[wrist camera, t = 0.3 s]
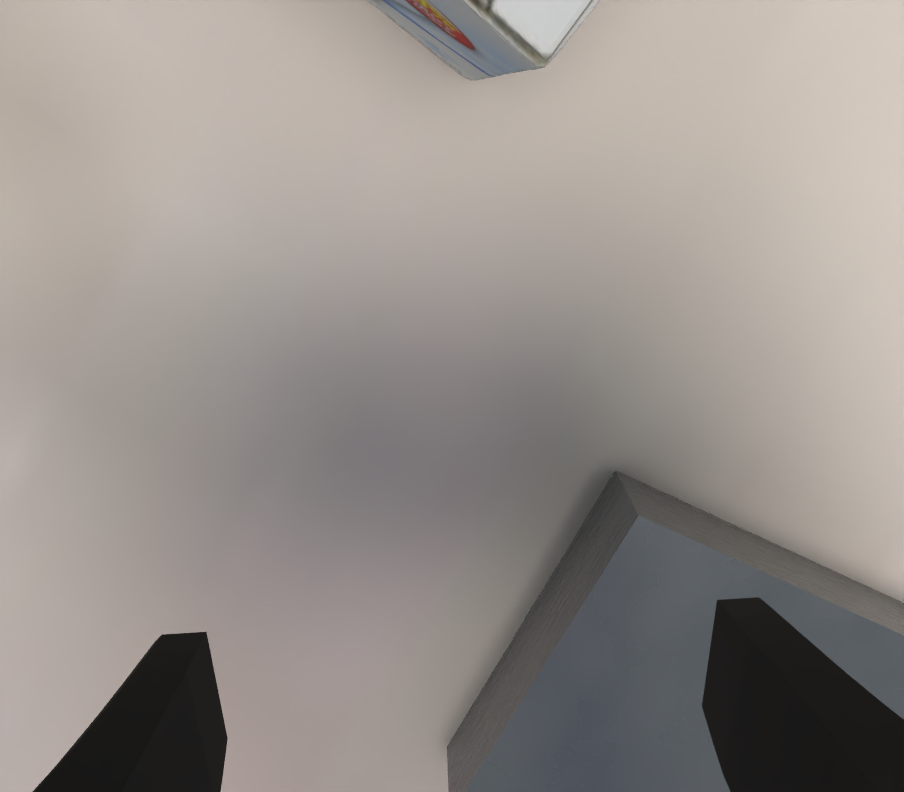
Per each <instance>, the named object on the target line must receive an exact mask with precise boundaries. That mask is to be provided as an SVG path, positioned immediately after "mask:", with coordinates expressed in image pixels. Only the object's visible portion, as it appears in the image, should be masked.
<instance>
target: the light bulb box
mask: <svg viewBox="0 0 904 792" xmlns="http://www.w3.org/2000/svg"><path fill="white" fill-rule="evenodd" d="M368 1H370V2H371V3H372V4H373V5H374V6H376V7H377V8H378V9H379V10H381V11H382V12H383V13H384V14H386V15H387V16H388V17H389V18H390V19H392V20H393V21H394V22H395V23H397V24H398V25H399V26H400V27H402V28H403V29H404V30H405V31H407V32H408V33H409V34H410V35H411V36H413V37H414V38H415V39H416V40H418V41H419V42H420V43H421V44H423V45H424V46H425V47H426V48H428V49H429V50H430V51H431V52H432V53H434V54H435V55H436V56H437V57H439V58H440V59H441V60H442V61H444V62H445V63H446V64H447V65H449V66H450V67H451V68H453V69H454V70H455V71H457V72H458V73H459V74H460V75H462V76H464V77H465V78H467V79H469V80H479V79H484V78H490V77H494V76H500V75H503V74H509V73H515V72H520V71H526V70H534V69H539V68H543V67H545V66H546V65H547V64H548V63H549V62H550V61H551V60H552V59H553V58H554V57H555V56H556V55H557V54H558V52H559V51H560V50H561V49H562V47H563V46H564V45H565V44H566V42H567V41H568V40H569V39H570V37H571V36H572V35H573V34H574V32H575V31H576V30H577V28H578V27H579V26H580V25H581V23H582V22H583V21H584V20H585V18H586V17H587V16H588V15H589V13H590V12H591V11H592V10H593V8H594V7H595V6H596V5H597V3H598V2H599V1H600V0H368Z"/></svg>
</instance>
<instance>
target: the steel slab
mask: <svg viewBox="0 0 904 792" xmlns="http://www.w3.org/2000/svg"><path fill="white" fill-rule="evenodd" d="M754 597H759V598H761V599H762V600H763V601H764V602H765V603H767V604H768V605H769V606H770V607H771V608H772V609H774V610H775V611H776V612H777V613H778V614H779V615H781V616H782V617H783V618H784V619H785V620H786V621H787V622H789V623H790V624H791V625H792V626H793V627H794V628H795V629H796V630H798V631H799V632H800V633H801V634H802V635H803V636H804V637H806V638H807V639H808V640H809V641H810V642H811V643H812V644H814V645H815V646H816V647H817V648H818V649H819V650H821V651H822V652H823V653H824V654H825V655H826V656H827V657H829V658H830V659H831V660H832V661H833V662H834V663H836V664H837V665H838V666H839V667H840V668H841V669H843V670H844V671H845V672H846V673H847V674H848V675H850V676H851V677H852V678H853V679H854V680H856V681H857V682H858V683H859V684H860V685H862V686H863V687H864V688H865V689H866V690H868V691H869V692H870V693H871V694H872V695H874V696H875V697H876V698H877V699H879V700H880V701H881V702H882V703H884V704H885V705H886V706H887V707H888V708H890V709H891V710H892V711H894V712H895V713H896V714H897V715H899V716H900V717H901V718H902V719H904V603H902V602H900V601H898V600H895V599H893V598H891V597H889V596H887V595H885V594H882V593H880V592H878V591H876V590H874V589H871V588H869V587H867V586H865V585H863V584H861V583H858V582H856V581H854V580H852V579H850V578H848V577H845V576H843V575H841V574H839V573H837V572H835V571H832V570H830V569H828V568H826V567H824V566H822V565H819V564H817V563H815V562H813V561H811V560H809V559H806V558H804V557H802V556H800V555H798V554H795V553H793V552H791V551H789V550H787V549H785V548H782V547H780V546H778V545H776V544H774V543H772V542H769V541H767V540H765V539H763V538H761V537H759V536H756V535H754V534H752V533H750V532H748V531H746V530H743V529H741V528H739V527H737V526H735V525H732V524H730V523H728V522H726V521H724V520H722V519H719V518H717V517H715V516H713V515H711V514H709V513H706V512H704V511H702V510H700V509H698V508H696V507H693V506H691V505H689V504H687V503H685V502H683V501H680V500H678V499H676V498H674V497H672V496H669V495H667V494H665V493H663V492H661V491H659V490H656V489H654V488H652V487H650V486H648V485H646V484H643V483H641V482H639V481H637V480H635V479H633V478H630V477H628V476H626V475H624V474H622V473H620V472H617V471H615V472H614V474H613V476H612V477H611V479H610V480H609V482H608V484H607V485H606V487H605V489H604V490H603V492H602V494H601V495H600V497H599V499H598V500H597V502H596V503H595V505H594V507H593V508H592V510H591V512H590V513H589V515H588V517H587V518H586V520H585V522H584V523H583V525H582V526H581V528H580V530H579V531H578V533H577V535H576V536H575V538H574V540H573V541H572V543H571V545H570V546H569V548H568V549H567V551H566V553H565V554H564V556H563V558H562V559H561V561H560V563H559V564H558V566H557V567H556V569H555V571H554V572H553V574H552V576H551V577H550V579H549V581H548V582H547V584H546V586H545V587H544V589H543V590H542V592H541V594H540V595H539V597H538V599H537V600H536V602H535V604H534V605H533V607H532V609H531V610H530V612H529V613H528V615H527V617H526V618H525V620H524V622H523V623H522V625H521V627H520V628H519V630H518V632H517V633H516V635H515V636H514V638H513V640H512V641H511V643H510V645H509V646H508V648H507V650H506V651H505V653H504V654H503V656H502V658H501V659H500V661H499V663H498V664H497V666H496V668H495V669H494V671H493V673H492V674H491V676H490V677H489V679H488V681H487V682H486V684H485V686H484V687H483V689H482V691H481V692H480V694H479V696H478V697H477V699H476V700H475V702H474V704H473V705H472V707H471V709H470V710H469V712H468V714H467V715H466V717H465V718H464V720H463V722H462V723H461V725H460V727H459V728H458V730H457V732H456V733H455V735H454V737H453V738H452V740H451V741H450V743H449V745H448V746H447V757H448V786H449V792H730V790H729V787H728V785H727V783H726V780H725V778H724V776H723V773H722V770H721V767H720V763H719V760H718V757H717V754H716V751H715V748H714V745H713V742H712V738H711V735H710V732H709V728H708V725H707V722H706V718H705V715H704V712H703V708H702V701H703V694H704V687H705V680H706V673H707V666H708V659H709V652H710V645H711V638H712V631H713V624H714V617H715V610H716V603H717V600H722V599H738V598H754Z"/></svg>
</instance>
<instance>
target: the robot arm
mask: <svg viewBox="0 0 904 792" xmlns="http://www.w3.org/2000/svg"><path fill="white" fill-rule="evenodd" d="M702 708H703V712H704V715H705V718H706V722H707V725H708V728H709V732H710V735H711V738H712V742H713V745H714V748H715V751H716V754H717V757H718V760H719V763H720V767H721V770H722V773H723V776H724V778H725V780H726V783H727V785H728V787H729V790H730V792H904V719H902V718H901V717H900V716H899V715H897V714H896V713H895V712H894V711H892V710H891V709H890V708H888V707H887V706H886V705H885V704H884V703H882V702H881V701H880V700H879V699H877V698H876V697H875V696H874V695H872V694H871V693H870V692H869V691H868V690H866V689H865V688H864V687H863V686H862V685H860V684H859V683H858V682H857V681H856V680H854V679H853V678H852V677H851V676H850V675H848V674H847V673H846V672H845V671H844V670H843V669H841V668H840V667H839V666H838V665H837V664H836V663H834V662H833V661H832V660H831V659H830V658H829V657H827V656H826V655H825V654H824V653H823V652H822V651H821V650H819V649H818V648H817V647H816V646H815V645H814V644H812V643H811V642H810V641H809V640H808V639H807V638H806V637H804V636H803V635H802V634H801V633H800V632H799V631H798V630H796V629H795V628H794V627H793V626H792V625H791V624H790V623H789V622H787V621H786V620H785V619H784V618H783V617H782V616H781V615H779V614H778V613H777V612H776V611H775V610H774V609H772V608H771V607H770V606H769V605H768V604H767V603H765V602H764V601H763V600H762V599H761V598H759V597H754V598H738V599H722V600H717V603H716V610H715V617H714V624H713V631H712V638H711V645H710V652H709V659H708V666H707V673H706V680H705V687H704V694H703V701H702ZM226 746H227V734H226V729H225V724H224V719H223V714H222V709H221V704H220V699H219V694H218V689H217V683H216V678H215V673H214V668H213V663H212V658H211V653H210V648H209V643H208V638H207V633H206V632H198V633H182V634H166V635H161V636H160V637H159V638H158V639H157V640H156V641H155V643H154V644H153V645H152V646H151V648H150V649H149V650H148V652H147V653H146V654H145V655H144V657H143V658H142V659H141V661H140V662H139V663H138V665H137V666H136V667H135V669H134V670H133V671H132V672H131V674H130V675H129V676H128V678H127V679H126V680H125V682H124V683H123V684H122V685H121V687H120V688H119V689H118V691H117V692H116V693H115V694H114V696H113V697H112V698H111V699H110V701H109V702H108V703H107V704H106V706H105V707H104V708H103V710H102V711H101V712H100V713H99V715H98V716H97V717H96V718H95V719H94V721H93V722H92V723H91V724H90V725H89V727H88V728H87V729H86V730H85V732H84V733H83V734H82V735H81V736H80V738H79V739H78V740H77V741H76V742H75V744H74V745H73V746H72V747H71V748H70V750H69V751H68V752H67V753H66V754H65V756H64V757H63V758H62V759H61V760H60V762H59V763H58V764H57V765H56V766H55V767H54V769H53V770H52V771H51V772H50V773H49V774H48V775H47V776H46V777H45V779H44V780H43V781H42V782H41V783H40V784H39V785H38V786H37V787H36V789H35V790H34V791H33V792H220V791H221V784H222V777H223V769H224V761H225V754H226Z"/></svg>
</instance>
